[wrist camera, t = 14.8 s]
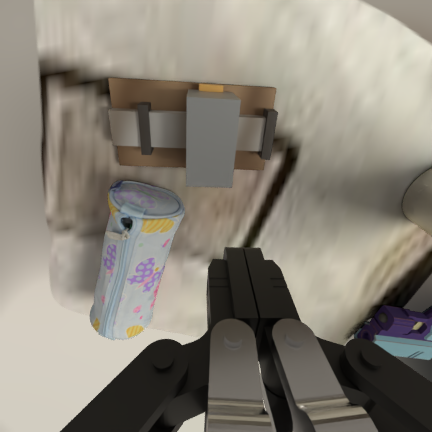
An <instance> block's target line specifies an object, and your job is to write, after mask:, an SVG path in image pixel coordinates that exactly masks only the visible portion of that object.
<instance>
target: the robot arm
mask: <svg viewBox="0 0 432 432" xmlns="http://www.w3.org/2000/svg"><path fill="white" fill-rule="evenodd" d="M402 207H403V212H404V214H405V216H406V217H407V218H408V219H409V220H410V221H412V222H413V223H414V224H416V225H417V226H418V227H420V228H421V229H422V230H424V231H425V232H426V233H427V234H429V235H430V236H431V237H432V168H431V169H429V170H427V171H426V172H425V173H423V174H422V175H420V176H419V177H418V178H417V179H416V180H415V181H414V182H413V183H412V184H411V186H410V187H409V188H408V190H407V192H406V193H405V196H404V199H403V204H402ZM207 324H208V330H207V332H206V333H205V334H204V335H203V336H202V337H201V338H200V339H198V340H196V341H194V342H191V343H188V344H185V345H181V344H180V343H178V342H177V341H175V340H171V339H162V340H158V341H155V342H153V343H151V344H150V345H148V346H147V347H146V348H145V349H144V350H143V351H142V352H141V353H140V354H139V355H138V356H137V357H136V358H135V359H134V360H133V361H132V362H131V363H130V364H129V365H128V366H127V367H126V368H125V369H124V370H123V371H122V372H121V373H120V374H119V375H118V376H116V378H114V379H113V380H112V381H111V383H110V384H108V385H107V386H106V387H105V388H104V389H103V390H102V391H101V392H100V393H99V394H98V395H97V396H96V397H95V398H94V399H93V400H92V401H91V402H90V403H89V404H88V405H87V406H86V407H85V408H84V409H83V410H82V411H81V412H80V413H79V414H78V415H77V416H76V417H75V418H74V419H73V420H71V422H69V423H68V425H66V426H65V427H64V428H63V429H62V430H61V431H60V432H177V431H178V430H179V428H180V427H181V425H182V424H183V422H184V421H186V420H188V419H190V418H193V417H195V416H197V415H199V414H201V413H204V412H205V425H204V432H432V382H430V381H429V380H427V379H426V378H424V377H423V376H421V375H420V374H419V373H417V372H416V371H414V370H413V369H412V368H410V367H409V366H407V365H406V364H404V363H403V362H401V361H400V360H399V359H397V358H396V357H394V356H393V355H392V354H390V353H389V352H387V351H386V350H384V349H383V348H381V347H380V346H379V345H377V344H375V343H373V342H371V341H369V340H366V339H361V338H355V339H352V340H350V341H349V342H348V343H347V344H346V346H343V345H340V344H336V343H333V342H330V341H326V340H323V339H321V338H319V337H317V336H315V335H314V333H313V331H312V330H311V329H310V328H309V327H308V326H307V325H305V324H304V323H302V322H301V320H300V318H299V315H298V313H297V310H296V307H295V305H294V302H293V300H292V297H291V295H290V292H289V289H288V288H287V284H286V282H285V280H284V276H283V274H282V271H281V269H280V268H279V267H278V265H277V264H276V263H275V262H274V261H273V260H264V257H263V254H262V251H261V249H260V248H234V247H225V249H224V257H223V259H213V260H212V262H211V264H210V266H209V267H208V279H207ZM258 361H259V363H260V368H261V373H260V372H259V364H258ZM263 400H264V404H265V408H266V411H265V408H264V404H263Z"/></svg>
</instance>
